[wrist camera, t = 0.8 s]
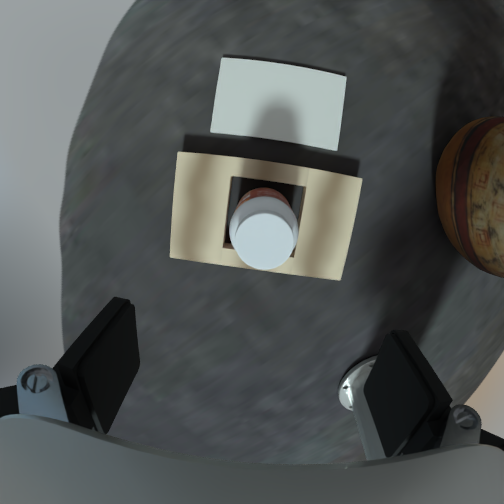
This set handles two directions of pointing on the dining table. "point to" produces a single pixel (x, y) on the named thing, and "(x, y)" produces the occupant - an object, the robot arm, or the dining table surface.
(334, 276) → the wooden rectangular frame
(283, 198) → the pill bottle
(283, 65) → the mat
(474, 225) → the ceramic pitcher
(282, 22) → the dining table surface
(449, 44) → the dining table surface
